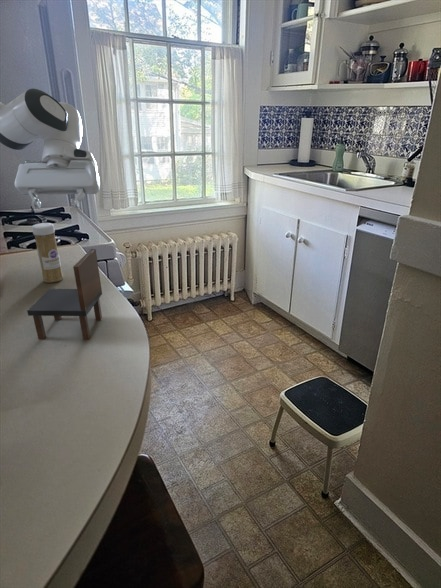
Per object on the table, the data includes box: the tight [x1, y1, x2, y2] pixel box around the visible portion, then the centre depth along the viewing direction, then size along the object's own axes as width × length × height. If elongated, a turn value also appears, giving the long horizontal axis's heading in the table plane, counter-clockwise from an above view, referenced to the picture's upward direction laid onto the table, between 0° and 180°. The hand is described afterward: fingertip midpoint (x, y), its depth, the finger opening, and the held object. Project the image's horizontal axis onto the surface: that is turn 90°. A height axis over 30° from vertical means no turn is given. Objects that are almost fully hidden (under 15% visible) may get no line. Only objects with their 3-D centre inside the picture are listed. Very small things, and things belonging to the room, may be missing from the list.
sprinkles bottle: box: [31, 222, 64, 284], centre depth 91 cm, size 5×5×14 cm
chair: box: [26, 248, 103, 341], centre depth 70 cm, size 10×9×14 cm
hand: (55, 207), depth 96 cm, fingers open, 8 cm apart
